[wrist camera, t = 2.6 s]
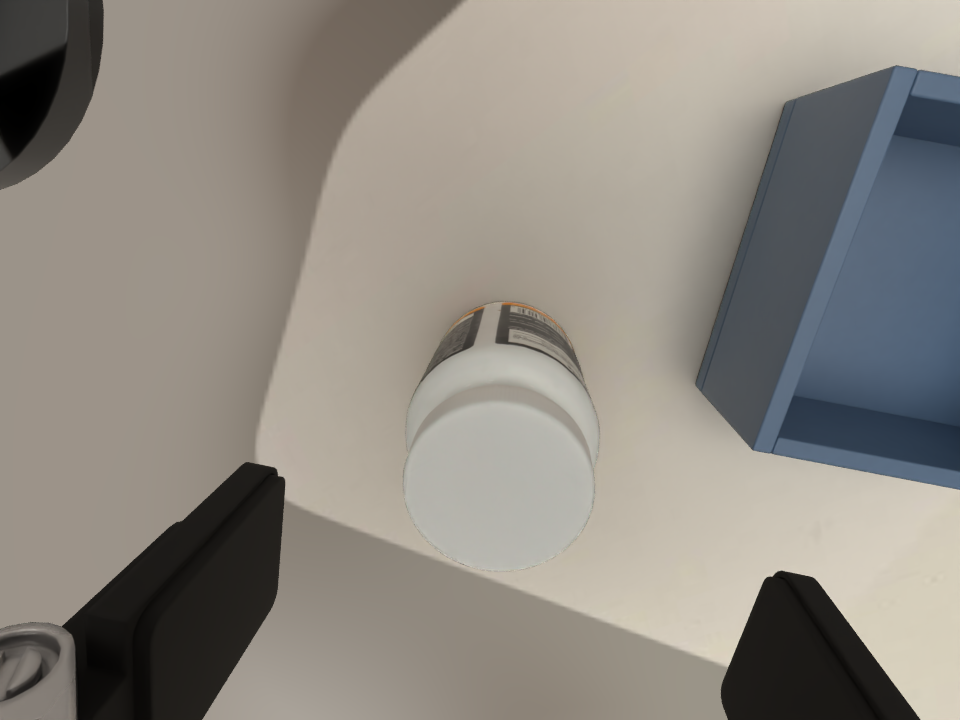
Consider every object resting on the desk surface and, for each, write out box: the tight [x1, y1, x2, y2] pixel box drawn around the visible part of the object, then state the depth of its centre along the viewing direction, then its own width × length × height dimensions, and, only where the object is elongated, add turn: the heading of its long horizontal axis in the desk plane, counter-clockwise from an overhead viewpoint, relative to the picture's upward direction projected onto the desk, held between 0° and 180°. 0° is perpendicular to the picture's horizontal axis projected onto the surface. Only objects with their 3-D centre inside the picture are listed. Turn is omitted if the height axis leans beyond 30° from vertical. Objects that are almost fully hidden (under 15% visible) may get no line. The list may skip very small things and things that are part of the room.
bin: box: [696, 65, 960, 490], centre depth 18 cm, size 11×11×6 cm
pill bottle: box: [403, 302, 600, 571], centre depth 18 cm, size 6×6×10 cm
